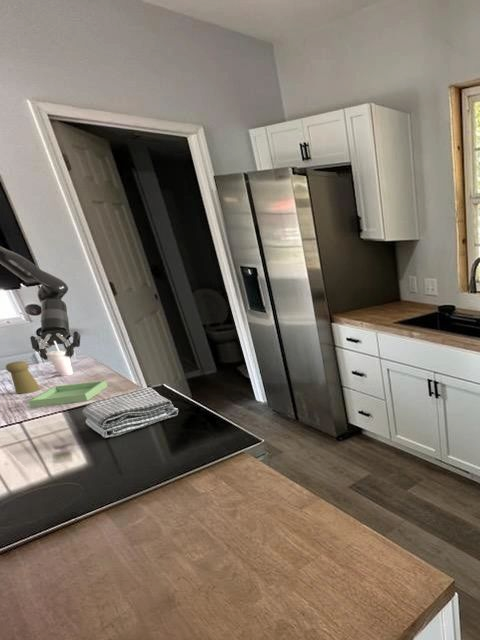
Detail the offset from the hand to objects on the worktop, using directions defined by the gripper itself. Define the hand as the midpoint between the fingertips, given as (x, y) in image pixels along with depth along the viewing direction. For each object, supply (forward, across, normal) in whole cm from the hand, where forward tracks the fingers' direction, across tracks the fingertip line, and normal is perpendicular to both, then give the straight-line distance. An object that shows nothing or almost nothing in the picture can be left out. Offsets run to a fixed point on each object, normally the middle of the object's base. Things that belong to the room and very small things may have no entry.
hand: (57, 357), depth 162 cm
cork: (+17, +6, +5) cm, 19 cm away
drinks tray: (+29, -9, +17) cm, 35 cm away
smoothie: (+5, 0, -7) cm, 8 cm away
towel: (+57, -32, +46) cm, 80 cm away
